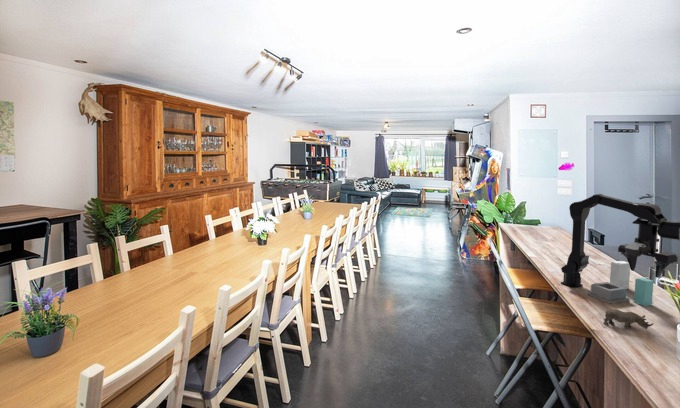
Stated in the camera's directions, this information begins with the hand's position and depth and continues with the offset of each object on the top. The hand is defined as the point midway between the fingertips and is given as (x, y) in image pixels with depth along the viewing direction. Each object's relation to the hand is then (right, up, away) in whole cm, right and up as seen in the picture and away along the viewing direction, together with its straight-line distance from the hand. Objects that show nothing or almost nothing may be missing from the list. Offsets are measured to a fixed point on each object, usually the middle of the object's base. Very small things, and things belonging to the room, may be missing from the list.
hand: (644, 273), depth 144 cm
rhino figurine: (-21, -16, -18) cm, 32 cm away
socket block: (-8, -12, +9) cm, 17 cm away
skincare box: (+5, -10, +19) cm, 22 cm away
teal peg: (+1, -12, +2) cm, 13 cm away
